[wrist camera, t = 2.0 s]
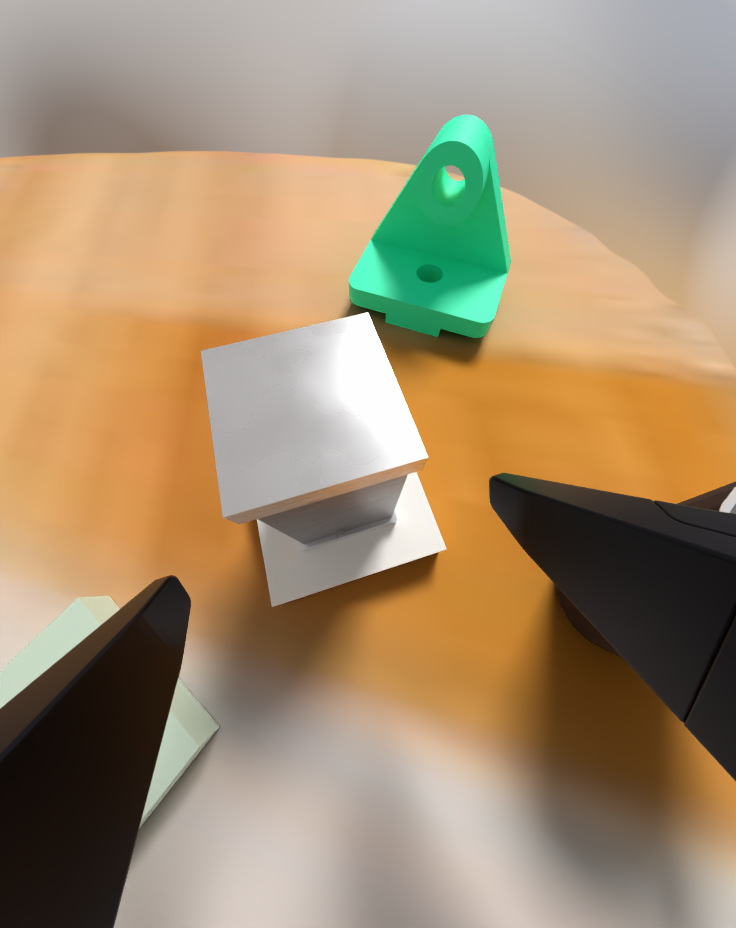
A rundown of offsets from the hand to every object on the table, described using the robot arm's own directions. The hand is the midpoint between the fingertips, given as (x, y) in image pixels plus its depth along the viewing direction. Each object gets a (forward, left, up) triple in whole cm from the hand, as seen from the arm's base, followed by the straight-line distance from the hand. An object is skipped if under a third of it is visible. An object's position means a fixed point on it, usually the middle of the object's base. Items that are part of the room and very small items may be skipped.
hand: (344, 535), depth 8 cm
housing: (+4, -1, -9) cm, 10 cm away
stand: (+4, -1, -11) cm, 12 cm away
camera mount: (+15, -18, -11) cm, 26 cm away
